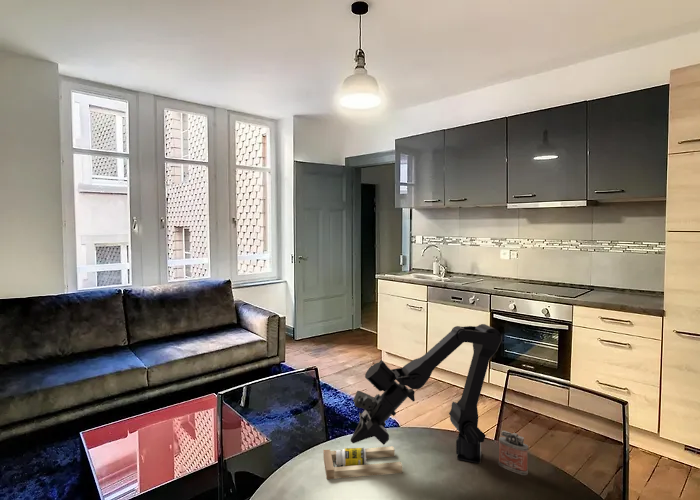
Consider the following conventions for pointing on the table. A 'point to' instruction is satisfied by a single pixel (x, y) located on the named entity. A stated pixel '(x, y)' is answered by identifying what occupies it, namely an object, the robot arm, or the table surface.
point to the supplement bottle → (351, 457)
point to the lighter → (513, 453)
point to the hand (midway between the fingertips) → (351, 441)
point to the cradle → (362, 469)
